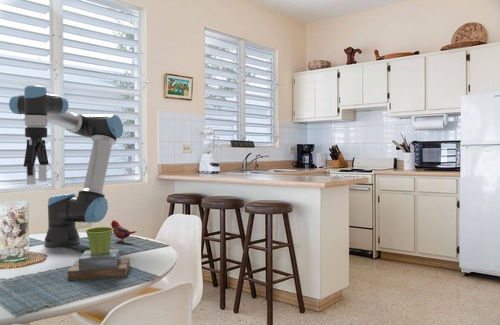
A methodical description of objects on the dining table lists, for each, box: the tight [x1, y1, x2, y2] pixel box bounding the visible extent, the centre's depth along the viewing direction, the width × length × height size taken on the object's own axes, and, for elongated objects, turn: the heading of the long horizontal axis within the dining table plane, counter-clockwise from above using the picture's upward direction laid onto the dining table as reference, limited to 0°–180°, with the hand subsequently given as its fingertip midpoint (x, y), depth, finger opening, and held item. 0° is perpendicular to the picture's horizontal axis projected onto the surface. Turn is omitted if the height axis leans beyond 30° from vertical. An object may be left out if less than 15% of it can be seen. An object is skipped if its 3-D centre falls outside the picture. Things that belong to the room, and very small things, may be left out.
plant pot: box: [85, 226, 113, 255], centre depth 146 cm, size 9×9×9 cm
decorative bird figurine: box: [110, 220, 138, 243], centre depth 194 cm, size 3×18×10 cm, turn 60°
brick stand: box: [67, 248, 130, 281], centre depth 147 cm, size 13×19×7 cm
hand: (37, 182), depth 155 cm, fingers open, 13 cm apart
